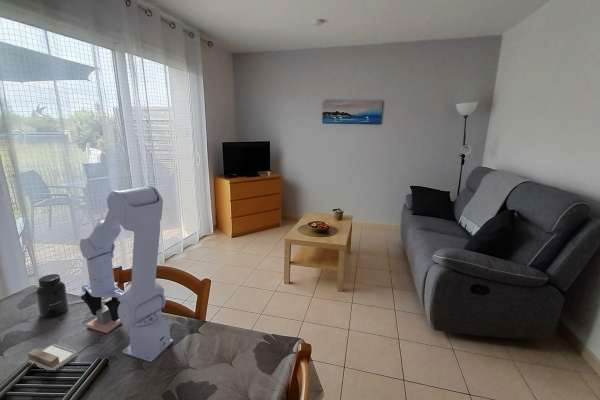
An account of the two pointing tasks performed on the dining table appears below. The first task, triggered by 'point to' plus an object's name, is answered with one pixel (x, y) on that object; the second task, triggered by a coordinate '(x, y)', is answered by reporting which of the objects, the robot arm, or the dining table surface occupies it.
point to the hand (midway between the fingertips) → (106, 316)
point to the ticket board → (59, 354)
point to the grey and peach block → (103, 321)
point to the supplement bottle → (51, 296)
